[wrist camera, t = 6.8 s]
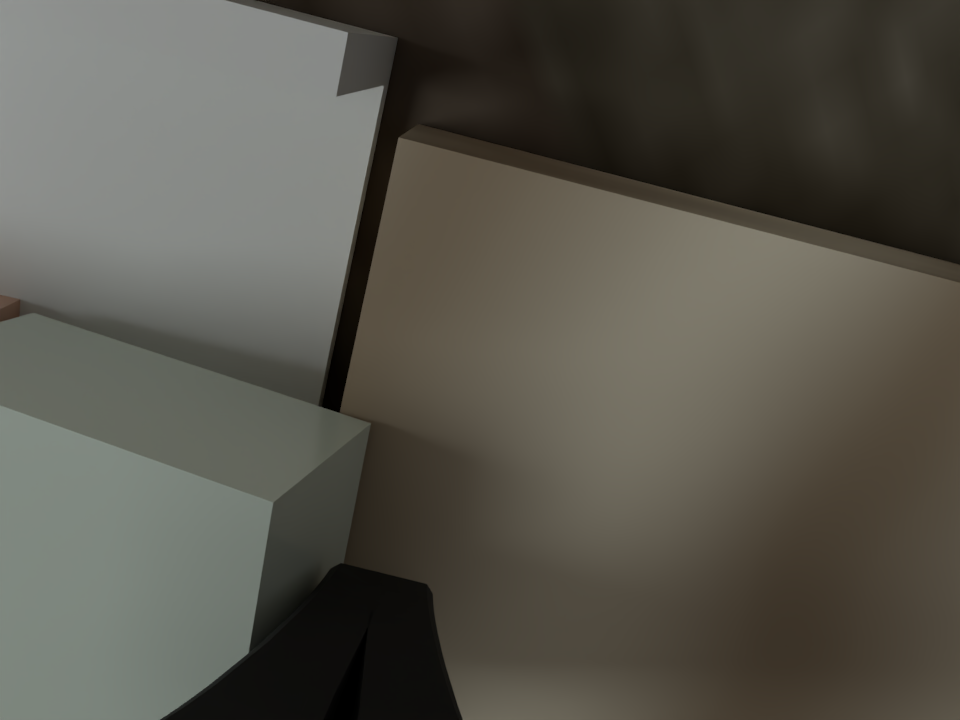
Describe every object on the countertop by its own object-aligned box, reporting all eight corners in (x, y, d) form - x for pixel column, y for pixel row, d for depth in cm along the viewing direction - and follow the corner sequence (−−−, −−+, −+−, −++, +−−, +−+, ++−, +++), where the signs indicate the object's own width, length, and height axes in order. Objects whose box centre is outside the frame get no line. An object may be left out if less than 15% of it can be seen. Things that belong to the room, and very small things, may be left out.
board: (1399, 378, 13) (1550, 435, 11) (1026, 983, 17) (1090, 1103, 15) (418, 124, 12) (398, 137, 10) (268, 805, 16) (233, 905, 14)
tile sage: (371, 422, 11) (272, 502, 9) (308, 743, 13) (211, 880, 11) (34, 312, 12) (-132, 359, 10) (12, 622, 14) (-135, 723, 12)
